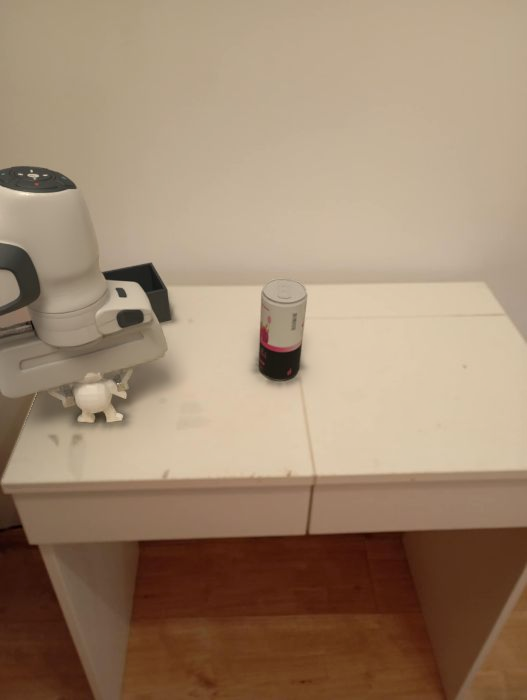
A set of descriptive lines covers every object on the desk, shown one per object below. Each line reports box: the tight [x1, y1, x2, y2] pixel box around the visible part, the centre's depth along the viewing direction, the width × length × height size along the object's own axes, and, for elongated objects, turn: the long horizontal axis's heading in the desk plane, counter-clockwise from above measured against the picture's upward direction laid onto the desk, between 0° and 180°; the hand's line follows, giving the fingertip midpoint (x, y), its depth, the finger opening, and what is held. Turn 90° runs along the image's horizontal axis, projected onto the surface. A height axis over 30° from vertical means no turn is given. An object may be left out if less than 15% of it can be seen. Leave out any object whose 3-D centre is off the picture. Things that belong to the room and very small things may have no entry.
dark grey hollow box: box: [101, 262, 172, 323], centre depth 84 cm, size 10×10×6 cm
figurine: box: [68, 373, 127, 423], centre depth 63 cm, size 8×5×12 cm, turn 93°
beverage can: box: [258, 277, 308, 381], centre depth 71 cm, size 7×7×15 cm
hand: (96, 395), depth 63 cm, fingers closed on figurine, 5 cm apart
